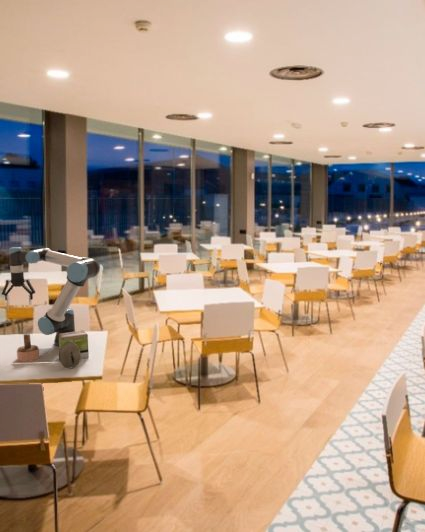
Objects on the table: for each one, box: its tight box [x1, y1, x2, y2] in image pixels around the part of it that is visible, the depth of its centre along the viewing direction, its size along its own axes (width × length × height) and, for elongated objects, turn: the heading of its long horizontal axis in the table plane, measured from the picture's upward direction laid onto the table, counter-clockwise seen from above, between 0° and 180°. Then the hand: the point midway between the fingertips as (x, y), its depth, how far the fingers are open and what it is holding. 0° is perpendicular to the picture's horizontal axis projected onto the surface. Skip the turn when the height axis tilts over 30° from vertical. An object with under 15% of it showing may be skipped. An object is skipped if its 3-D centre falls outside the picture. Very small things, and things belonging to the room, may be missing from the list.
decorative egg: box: [58, 341, 81, 369], centre depth 305 cm, size 12×12×15 cm
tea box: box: [58, 330, 90, 360], centre depth 323 cm, size 15×10×15 cm, turn 117°
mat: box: [39, 347, 52, 355], centre depth 336 cm, size 11×11×1 cm
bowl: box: [16, 347, 40, 362], centre depth 323 cm, size 12×12×6 cm
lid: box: [17, 333, 39, 352], centre depth 322 cm, size 11×11×9 cm
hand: (19, 305), depth 346 cm, fingers open, 13 cm apart
